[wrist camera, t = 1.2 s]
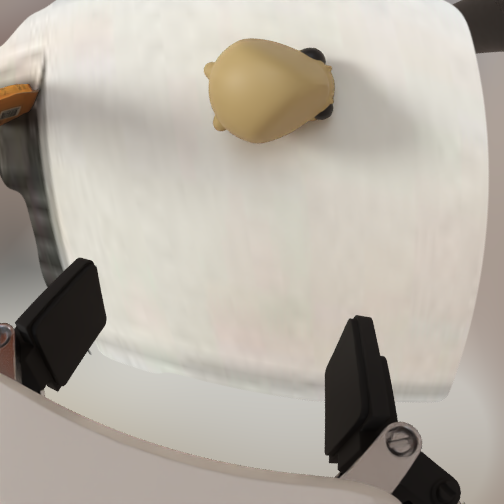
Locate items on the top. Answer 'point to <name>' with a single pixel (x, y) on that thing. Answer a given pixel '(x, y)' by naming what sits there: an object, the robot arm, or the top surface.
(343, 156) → the top surface
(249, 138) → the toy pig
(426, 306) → the top surface
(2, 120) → the pancake mix bag
